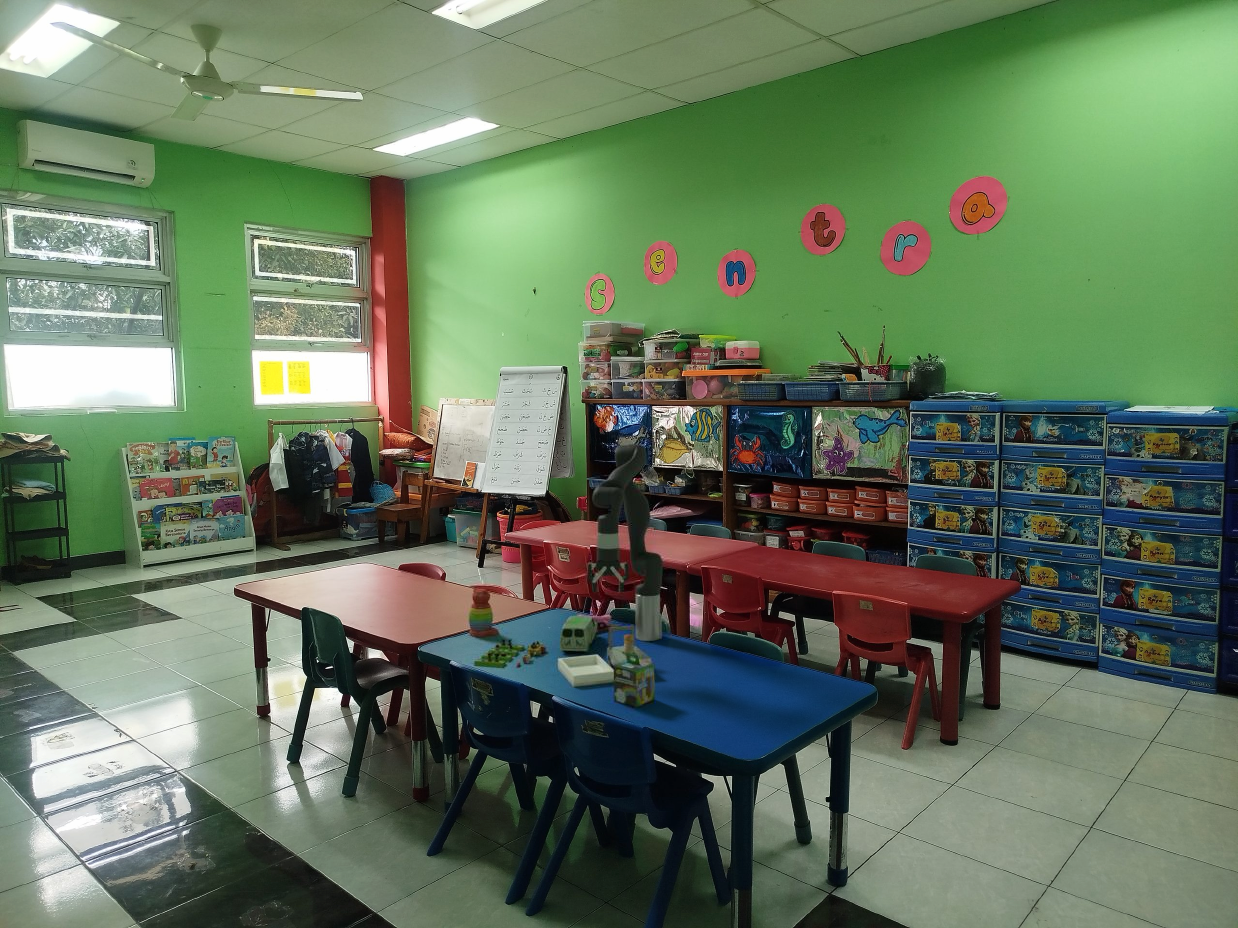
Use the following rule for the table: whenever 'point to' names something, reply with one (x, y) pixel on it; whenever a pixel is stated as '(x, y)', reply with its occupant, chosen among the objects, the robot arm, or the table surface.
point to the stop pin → (628, 643)
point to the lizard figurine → (603, 623)
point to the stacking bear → (481, 615)
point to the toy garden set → (508, 654)
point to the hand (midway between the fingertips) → (607, 593)
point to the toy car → (578, 633)
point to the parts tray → (586, 670)
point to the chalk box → (634, 681)
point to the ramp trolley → (622, 648)
